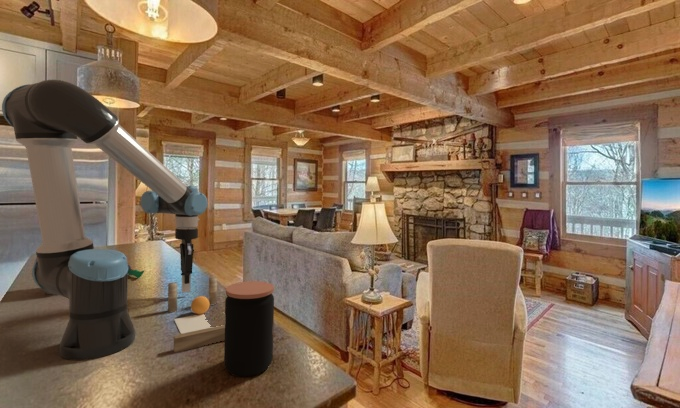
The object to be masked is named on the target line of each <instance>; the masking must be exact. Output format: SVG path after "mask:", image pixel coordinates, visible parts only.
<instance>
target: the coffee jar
mask: <svg viewBox="0 0 680 408" xmlns="http://www.w3.org/2000/svg"><path fill="white" fill-rule="evenodd" d="M274 291H275V286H274V285H273V284H272V283H270V282H266V281H260V280H249V281H247V280H246V281H238V282H235V283H232V284H230V285H228V286H226V288H225V295H226V297H225V300H224V301H225V302H224V310H225V311H224V314H225V341H224V347H223V348H224V355H223V357H224V358H223V360H224V361H223V362H224V368H225V369H226V370H227V372H228V371H229V372H228V374H230V373H231V374H230V375H232V374H233V376H234V375H236V376H235V377H239V376H240V378H241V377H242V376H243V377H242V378H247V377H248V376H249V377H254V376H253V375H255V376H257V375H259V374H258V373H260V374H262V373H263V371H264V370H265V371H267V370H268V368H269V367H270V365H271V364H272V362H273V358H274V355H273V354H274V321H275V320H274V319H275V318H274V317H275V315H274V314H275V312H274V311H275V310H274V309H275V297H274V294H273V292H274ZM268 366H269V367H268ZM265 371H264V372H265ZM261 372H262V373H261ZM256 374H257V375H256Z"/></svg>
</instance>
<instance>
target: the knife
mask: <svg viewBox="0 0 680 408" xmlns="http://www.w3.org/2000/svg"><path fill="white" fill-rule="evenodd" d="M144 273H145V270H141V271H140V270H138V269H132V267H131V265H130V264H128V276H134V277H135V278H137V279H139V278H141V277H142V275H143V274H144Z"/></svg>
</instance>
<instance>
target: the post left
mask: <svg viewBox="0 0 680 408" xmlns="http://www.w3.org/2000/svg"><path fill="white" fill-rule="evenodd" d="M167 284H168V286H167V290H168V291H167V293H168V294H167V295H168V296H167V304H168V305H167V313H175V311H176V312H177V311H178V282H169V283H167Z"/></svg>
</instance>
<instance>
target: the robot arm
mask: <svg viewBox="0 0 680 408" xmlns="http://www.w3.org/2000/svg"><path fill="white" fill-rule="evenodd" d="M1 111H2V115H3V117H4V119H5V121H6V122H7V123H8V125H10V126H11V127H12V128H13V130H14V131H13V132H14V135H15V141H16V142H18V143H19V144H20V145H22V146H23V147H25V149H26V153H27V154H26V155H27V159H28V162H27V163H28V166H29V171H30V177H31V178H30V179H31V184H32V189H33V195H34V200H35V201H34V202H35V206H36V213H37V218H38V223H39V230H40V234H41V235H40V237H41V240H42V241H41V244H40V245H39V246H38V247H37V248H36V249H35V255H36V258H37V261H36V262H35V261H34V263H33V265H32V269H31V276H32V279H33V282H34V284H36V286H37V287H39V288H40V289H42V291H44V292H45V293H46V292H48V293H51V294H50V295H54V296H60V297H64V298H65V299H69V300H68V301H69V302H68V303H69V304H68V305H69V307H68V308H69V309H68V310H69V316H68V317H69V319H68V322H67V325H66V327H65V330H64V332H63V334H62V338H61V341H60V343H59V356H60V357H61V358H63V359H65V360H70V361H81V360H82V361H83V360H90V359H91V360H92V359H97V358H100V357H105V356H109V355H111V354H114V353H117V352H120V351H121V350H124V349H126V348H128V347H129V346H131V345H132V344H133V343H134V341H135V340H136V329H135V326H134V323H133V321H132V318H131V316H130V314H129V311H128V276H129V274H128V265H129V264H128V257H127V256H126V254H125V253H123V252H122V251H119V250H116V249H105V248H95V247H94V242H93V240H92V239H91V238H88V237H86V236H85V229H84V221H83V217H82V216H83V215H82V210H81V209H82V208H81V202H80V196H79V189H78V183H77V176H76V169H75V168H76V167H75V163H74V162H75V161H74V157H73V149H72V147H73V146H74V145H76V143H77V142H78V141H79V140H78V139H80V140H81V141H82V142H83V143H85V144H88V145H95V146H96V147H97V148H98V149H100V150H101V151H102V152H103V153H104V154H106V155H107V156H108V157H110V158H111V159H112V160H113V161H114V162H116V163H117V164H118V165H119V166H121V167H122V168H123V169H125V170H126V171H127V172H128V173H130V174H131V175H132V176H134V177H135V178H136V179H137V180H139V181H140V182H141V183H143V184H144V185H145V186H146V187H148V188H149V189H150V190H146V191H144V192H143V193H142V194H141V196H140V207H141V209H142V211H143V212H144V213H146V214H154V215H155V214H170V215H175V219H174V221H175V223H174V225H175V226H174V227H175V231H174V232H175V233H174V235H175V236H174V237H175V239H176V240H179V241H181V243H179V251H180V253H179V254H180V271H181V273H180V276H181V293H189V292H191V284H192V282H191V276H192V274H193V265H194V264H193V261H194V253H195V250H194V243H193V242H192V240H196V239H198V237H199V229H198V228H197V227H198V226H199V221H201V220H200V218H199V216H200V215H203V214H204V213H205V212H206V210H207V209H208V198H207V196H206V194H204V193H203V192H200V191H199V189H198V187H197V186H195V185H186V184H185V183H184V182H183V181H181V179H179V178H178V177H177V175H175V174H174V173H173V172H172V171H171V170H170V169H168V168H167V167H166V165H164V163H162V162H161V161H160V160H159V159H158V158H156V157H155V155H154V154H152V153H151V152H150V151H149V150H148V149H146V147H145V146H143V145H142V144H141V143H140V142H139V141H138V140H137V139H136V138H135V137H134V136H133V135H132V134H130V133H129V132H128V131H127V130H126V129H125V128H124V127H123V126H121V124H120V120H119V117H118V116H117V115H116V114H115V113H113V112H112V111H111V110H110V109H109V107H107V106H106V105H104V103H102V102H101V101H100V100H99V99H98V98H96V97H95V96H94V95H92V94H90V92H88V91H87V90H85V89H83V88H82V87H80V86H78V85H76V84H74V83H72V82H69V81H65V80H61V79H48V80H47V79H46V80H42V81H39V82H36V83H31V84H30V83H28V84H24V85H19V86H18V87H15V88H14V89H12V90H11V91H10V92H8V93H7V94H6V95H5V96H4V98H3V100H2V103H1Z"/></svg>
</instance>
